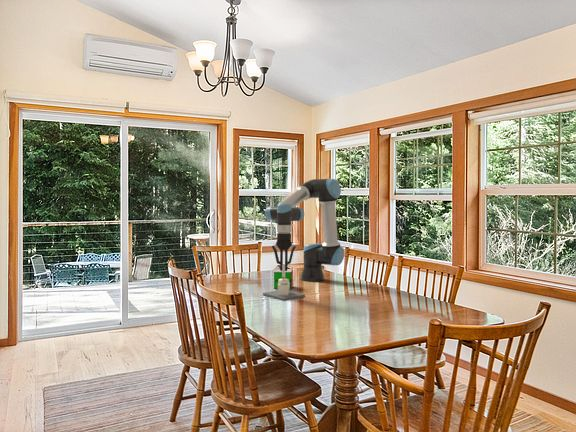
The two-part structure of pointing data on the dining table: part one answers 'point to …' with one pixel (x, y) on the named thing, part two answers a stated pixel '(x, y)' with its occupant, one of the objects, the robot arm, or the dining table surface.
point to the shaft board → (284, 297)
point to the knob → (283, 286)
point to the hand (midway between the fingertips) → (283, 276)
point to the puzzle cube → (279, 276)
